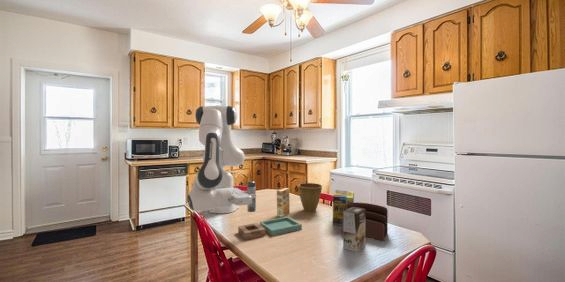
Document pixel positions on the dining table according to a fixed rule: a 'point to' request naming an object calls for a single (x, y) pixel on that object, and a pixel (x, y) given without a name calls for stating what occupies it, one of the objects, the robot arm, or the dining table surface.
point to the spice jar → (251, 189)
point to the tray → (280, 225)
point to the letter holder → (373, 220)
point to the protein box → (341, 205)
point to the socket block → (251, 231)
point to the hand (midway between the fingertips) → (253, 194)
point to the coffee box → (354, 228)
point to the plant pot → (310, 195)
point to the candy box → (283, 202)
